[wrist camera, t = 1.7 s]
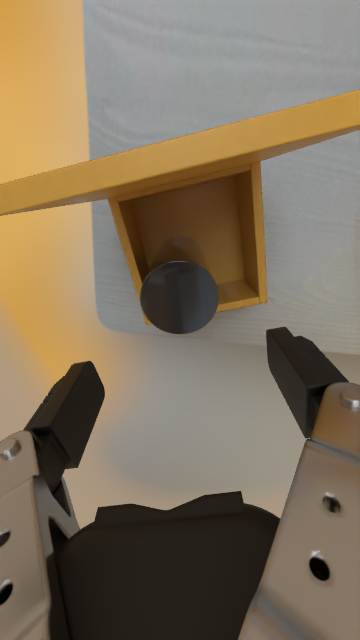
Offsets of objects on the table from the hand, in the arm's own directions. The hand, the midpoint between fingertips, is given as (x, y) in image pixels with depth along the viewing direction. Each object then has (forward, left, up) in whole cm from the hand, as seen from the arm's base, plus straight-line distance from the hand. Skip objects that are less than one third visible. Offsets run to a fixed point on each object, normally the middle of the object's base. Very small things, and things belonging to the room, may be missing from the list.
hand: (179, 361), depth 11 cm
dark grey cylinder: (0, 0, -19) cm, 19 cm away
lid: (-7, +2, -6) cm, 10 cm away
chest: (-2, +2, -20) cm, 20 cm away
